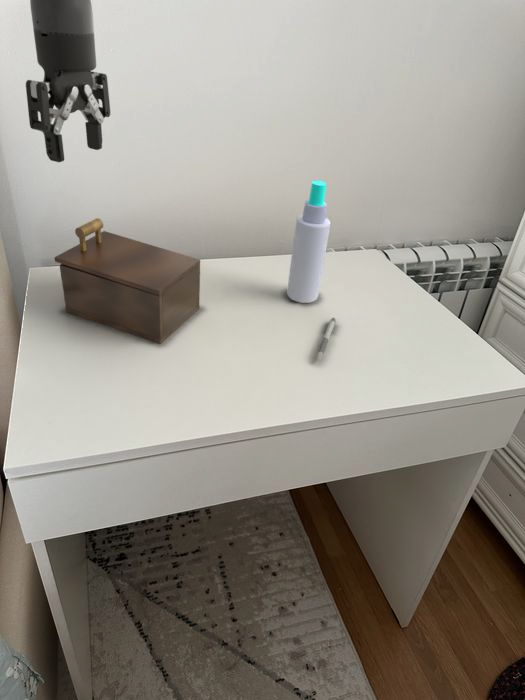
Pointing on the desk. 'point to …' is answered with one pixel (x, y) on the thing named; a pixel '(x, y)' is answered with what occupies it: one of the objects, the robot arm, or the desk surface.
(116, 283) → the chest
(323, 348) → the pen
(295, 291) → the spray bottle
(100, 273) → the lid
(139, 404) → the desk surface
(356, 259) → the desk surface
